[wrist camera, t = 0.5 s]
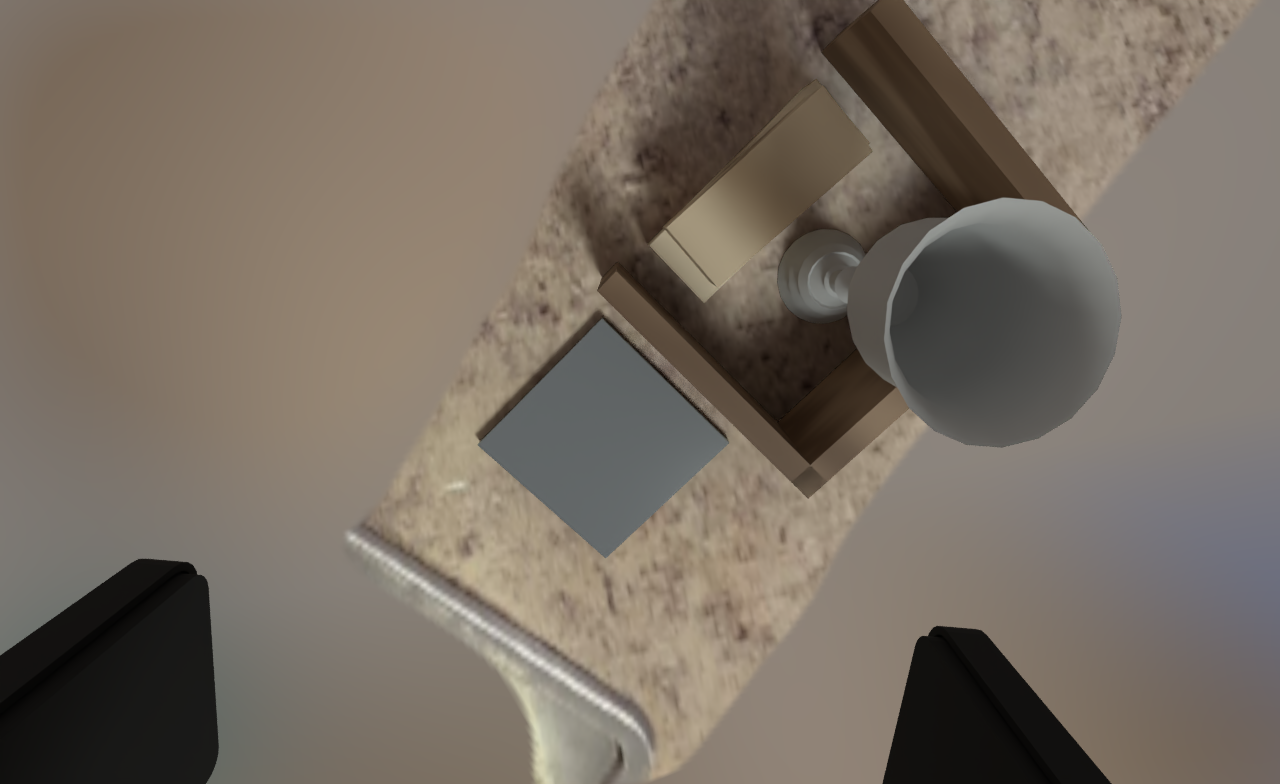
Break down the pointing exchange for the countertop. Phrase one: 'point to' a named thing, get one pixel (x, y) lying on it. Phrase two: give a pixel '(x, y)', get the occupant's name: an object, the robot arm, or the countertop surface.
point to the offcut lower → (663, 241)
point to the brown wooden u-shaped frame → (952, 160)
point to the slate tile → (603, 439)
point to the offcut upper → (768, 187)
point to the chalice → (971, 314)
